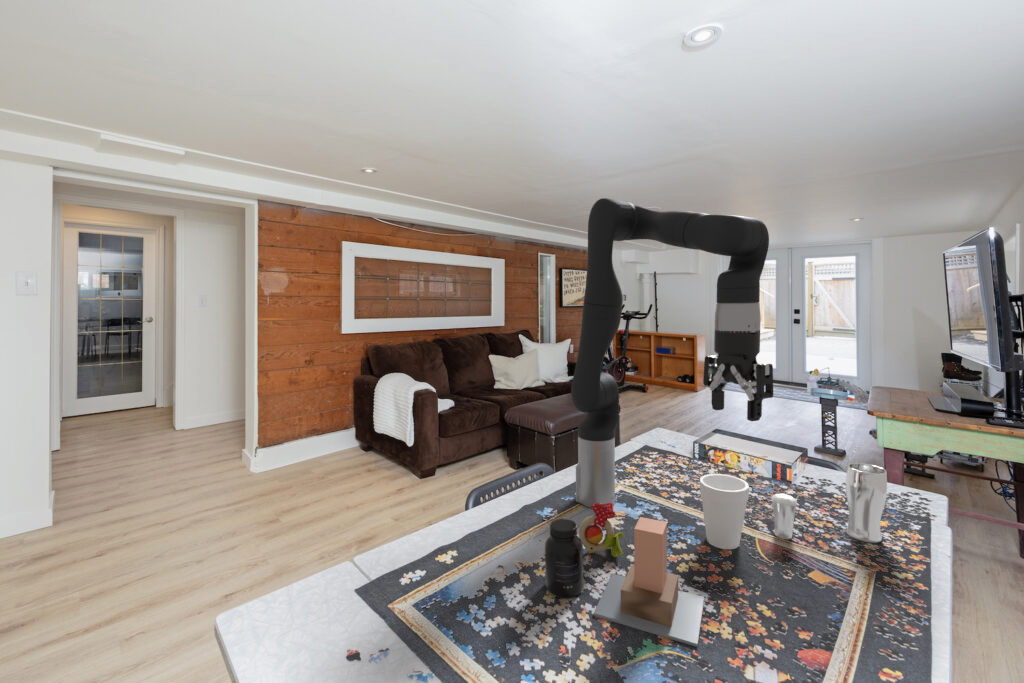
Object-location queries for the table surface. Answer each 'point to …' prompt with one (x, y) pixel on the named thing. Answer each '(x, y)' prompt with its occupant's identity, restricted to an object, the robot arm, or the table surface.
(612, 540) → the bird rattle
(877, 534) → the beer glass
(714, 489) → the foam cup
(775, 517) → the milkshake
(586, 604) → the table surface
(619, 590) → the building mat
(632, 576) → the base slab
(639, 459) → the table surface
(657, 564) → the tall block
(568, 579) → the supplement bottle
